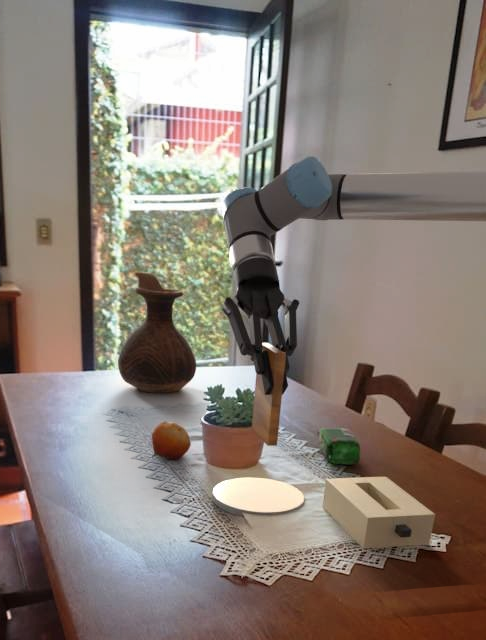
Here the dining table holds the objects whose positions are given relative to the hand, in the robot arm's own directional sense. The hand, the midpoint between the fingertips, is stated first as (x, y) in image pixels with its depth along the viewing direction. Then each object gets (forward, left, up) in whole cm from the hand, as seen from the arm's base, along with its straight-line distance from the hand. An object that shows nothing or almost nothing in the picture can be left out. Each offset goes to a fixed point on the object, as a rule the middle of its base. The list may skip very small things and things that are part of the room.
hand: (276, 390), depth 108 cm
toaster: (-15, +10, -21) cm, 27 cm away
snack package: (-24, -25, -21) cm, 40 cm away
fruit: (+11, -28, -21) cm, 37 cm away
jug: (+4, -86, -21) cm, 89 cm away
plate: (0, -4, -21) cm, 21 cm away
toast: (0, -4, -9) cm, 10 cm away
